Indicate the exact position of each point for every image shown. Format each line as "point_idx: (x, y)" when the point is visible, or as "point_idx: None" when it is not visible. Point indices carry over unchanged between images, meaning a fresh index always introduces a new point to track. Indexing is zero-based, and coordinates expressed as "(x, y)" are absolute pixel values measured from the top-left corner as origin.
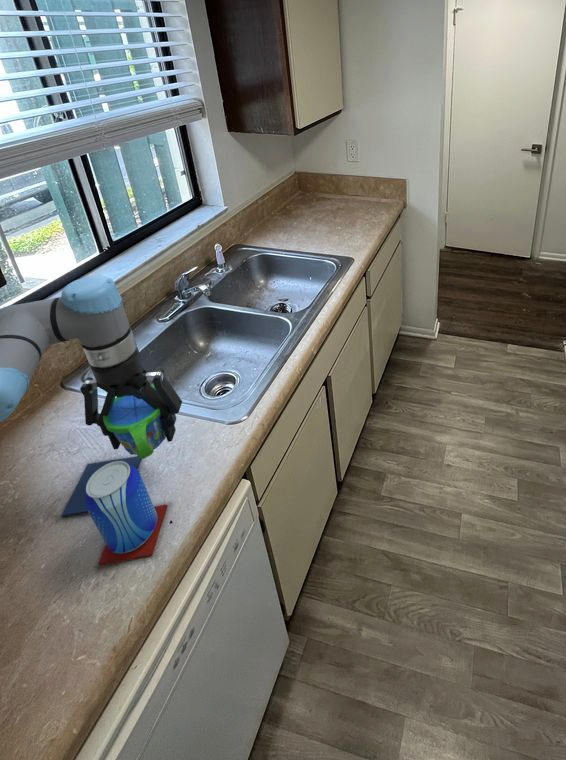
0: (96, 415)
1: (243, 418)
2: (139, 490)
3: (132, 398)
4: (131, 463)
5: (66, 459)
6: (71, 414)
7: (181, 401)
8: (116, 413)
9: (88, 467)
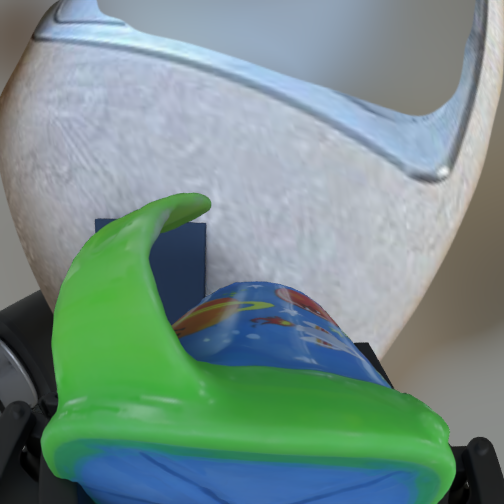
0: (38, 444)
1: (441, 172)
2: None
3: (177, 480)
4: (186, 242)
5: (59, 193)
6: (44, 87)
7: (490, 452)
8: None
9: (99, 229)
